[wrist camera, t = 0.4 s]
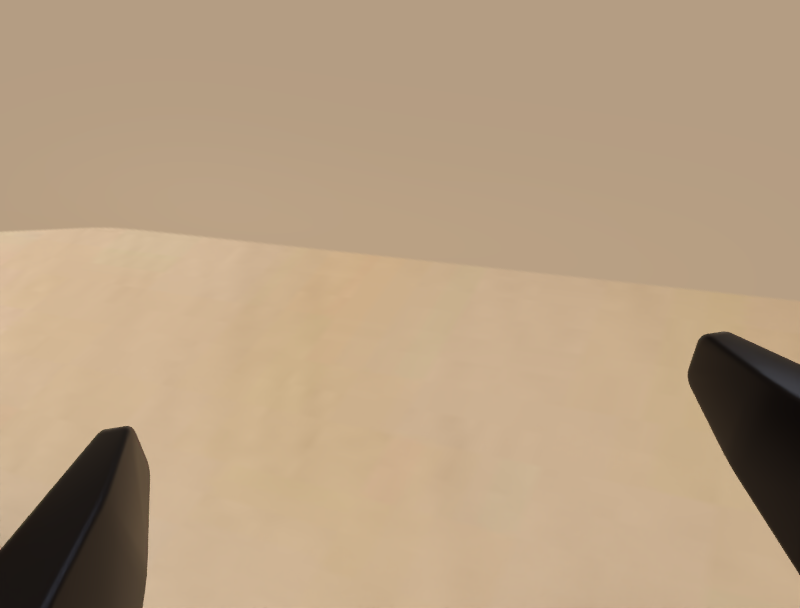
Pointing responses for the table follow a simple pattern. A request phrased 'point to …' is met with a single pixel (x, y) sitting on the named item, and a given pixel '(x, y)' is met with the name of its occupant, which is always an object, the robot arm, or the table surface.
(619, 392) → the table surface
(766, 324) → the table surface
